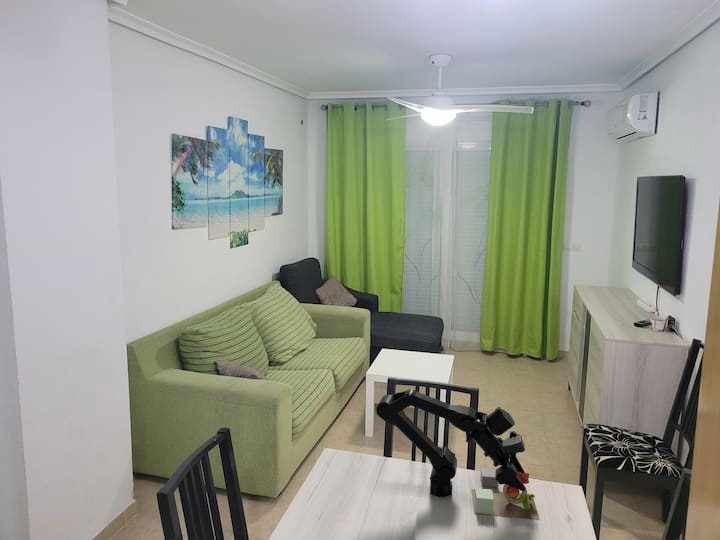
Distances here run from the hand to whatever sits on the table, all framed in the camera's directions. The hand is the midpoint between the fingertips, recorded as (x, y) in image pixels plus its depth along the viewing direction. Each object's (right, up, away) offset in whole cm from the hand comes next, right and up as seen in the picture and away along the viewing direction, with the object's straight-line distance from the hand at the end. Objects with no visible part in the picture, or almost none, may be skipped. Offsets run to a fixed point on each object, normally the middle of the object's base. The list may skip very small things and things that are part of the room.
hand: (524, 481), depth 166 cm
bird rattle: (-2, -8, +1) cm, 8 cm away
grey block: (-8, -7, +14) cm, 17 cm away
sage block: (-13, -8, -1) cm, 15 cm away
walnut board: (-6, -9, +2) cm, 11 cm away
